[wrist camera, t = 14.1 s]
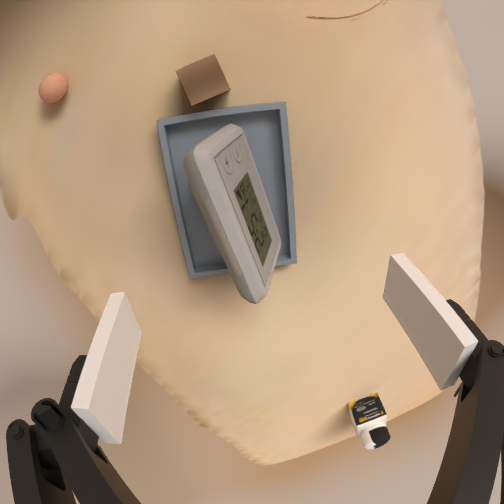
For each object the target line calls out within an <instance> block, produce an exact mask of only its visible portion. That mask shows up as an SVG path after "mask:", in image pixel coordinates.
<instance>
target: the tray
mask: <svg viewBox="0 0 504 504" xmlns="http://www.w3.org/2000/svg"><path fill="white" fill-rule="evenodd" d="M228 124H234V125H236V126H239V127H241V128H242V130H243V132H244V134H245V137H246V139H247V142H248V145H249V147H250V150H251V153H252V156H253V159H254V161H255V164H256V167H257V170H258V173H259V176H260V179H261V181H262V184H263V187H264V190H265V193H266V196H267V199H268V202H269V205H270V208H271V211H272V214H273V217H274V220H275V223H276V226H277V229H278V232H279V235H280V238H281V247H280V251H279V254H278V258H277V261H276V265H275V266H281V265H288V264H295V263H297V256H296V234H295V215H294V198H293V183H292V169H291V156H290V143H289V132H288V120H287V110H286V102H273V103H262V104H252V105H243V106H235V107H227V108H220V109H213V110H207V111H201V112H195V113H189V114H183V115H178V116H173V117H168V118H163V119H159V120H157V126H158V132H159V138H160V143H161V149H162V154H163V159H164V164H165V170H166V175H167V180H168V184H169V189H170V194H171V199H172V203H173V208H174V213H175V217H176V221H177V226H178V230H179V234H180V239H181V243H182V247H183V251H184V255H185V259H186V263H187V267H188V271H189V275H190V279H192V278H199V277H206V276H213V275H220V274H227V273H230V272H229V270H228V268H227V265H226V263H225V261H224V259H223V257H222V255H221V254H220V253H219V251H218V249H217V247H216V245H215V243H214V240H213V238H212V236H211V234H210V231H209V229H208V227H207V225H206V223H205V220H204V218H203V216H202V213H201V211H200V209H199V207H198V204H197V202H196V200H195V198H194V195H193V193H192V191H191V188H190V186H189V184H188V176H187V174H186V172H185V169H184V164H183V162H184V158H185V156H186V154H187V153H188V151H189V150H190V149H192V148H193V147H194V146H195V145H197V144H198V143H200V142H201V141H203V140H204V139H206V138H207V137H209V136H210V135H212V134H213V133H215V132H216V131H218V130H219V129H221V128H222V127H224V126H226V125H228Z"/></svg>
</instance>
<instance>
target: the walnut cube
mask: <svg viewBox="0 0 504 504" xmlns="http://www.w3.org/2000/svg"><path fill="white" fill-rule="evenodd" d="M176 73H177V75H178V77H179V80H180V82H181V84H182V86H183V88H184V90H185V92H186V94H187V97H188V99H189V101H190V103H191V105H192V106H194V105H196V104H199V103H201V102H203V101H205V100H208V99H210V98H212V97H214V96H217V95H219V94H222V93H224V92H226V91H229V90H230V87H229V85H228V83H227V81H226V78H225V76H224V74H223V72H222V70H221V67H220V65H219V63H218V61H217V59H216V57H215V54H213V55H211V56H208V57H206V58H203V59H201V60H199V61H196V62H194V63H192V64H190V65H187V66H185V67H183V68H181V69H179V70H177V71H176Z"/></svg>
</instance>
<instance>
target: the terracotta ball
mask: <svg viewBox="0 0 504 504" xmlns="http://www.w3.org/2000/svg"><path fill="white" fill-rule="evenodd" d="M67 88H68V82H67V79H66V77H65V76H64V75H63V74H61V73H51V74H49V75H47V76H46V77H45V78H44V79H43V80H42V81H41V83H40V86H39V95H40V97H41V99H42V100H44V101H45V102H48V103H53V102H56V101H58V100H60V99H61V98H62V97H63V96H64V95H65V93H66V91H67Z"/></svg>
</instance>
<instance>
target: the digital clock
mask: <svg viewBox="0 0 504 504" xmlns="http://www.w3.org/2000/svg"><path fill="white" fill-rule="evenodd" d="M183 164H184V169H185V172H186V174H187V176H188V184H189V186H190V188H191V191H192V193H193V195H194V198H195V200H196V202H197V204H198V207H199V209H200V211H201V213H202V216H203V218H204V220H205V223H206V225H207V227H208V229H209V231H210V234H211V236H212V238H213V240H214V243H215V245H216V247H217V249H218V251H219V253H220V254H221V255H222V257H223V259H224V261H225V263H226V265H227V268H228V270H229V272H230V274H231V276H232V278H233V281H234V283H235V285H236V287H237V289H238V291H239V293H240V295H241V296H242V297H243V298H244V299H245V300H247V301H248V302H250V303H259V302H260V301H261V300H262V299H263V298H264V297H265V295H266V294H267V292H268V289H269V285H270V282H271V279H272V275H273V272H274V268H275V265H276V261H277V258H278V254H279V251H280V247H281V238H280V235H279V232H278V229H277V226H276V223H275V220H274V217H273V214H272V211H271V208H270V205H269V202H268V199H267V196H266V193H265V190H264V187H263V184H262V181H261V179H260V176H259V173H258V170H257V167H256V164H255V161H254V159H253V156H252V153H251V150H250V147H249V145H248V142H247V139H246V137H245V134H244V132H243V130H242V128H241V127H239V126H236V125H234V124H228V125H226V126H224V127H222V128H221V129H219V130H218V131H216V132H215V133H213V134H212V135H210V136H209V137H207V138H206V139H204V140H203V141H201V142H200V143H198V144H197V145H195V146H194V147H193V148H192V149H190V150H189V151H188V153H187V154H186V156H185V158H184V162H183Z"/></svg>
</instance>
